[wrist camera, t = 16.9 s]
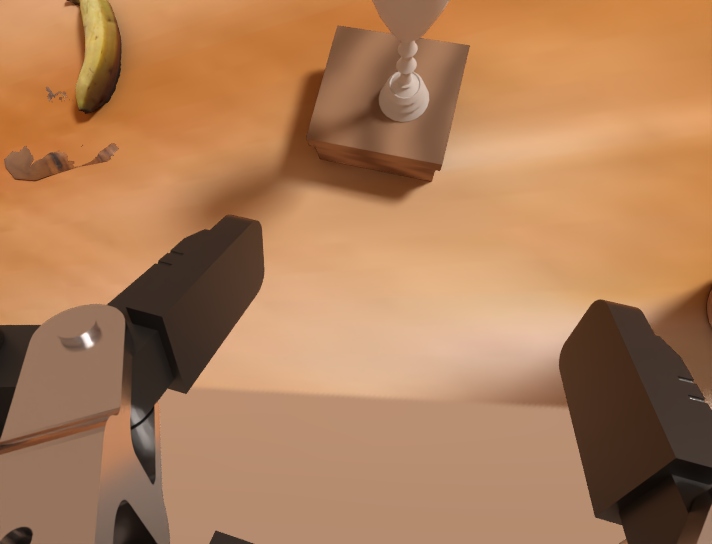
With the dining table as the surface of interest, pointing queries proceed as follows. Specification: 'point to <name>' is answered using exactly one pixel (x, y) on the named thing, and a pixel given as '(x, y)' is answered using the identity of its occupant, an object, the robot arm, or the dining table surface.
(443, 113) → the square lamp base
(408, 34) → the chalice
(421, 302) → the dining table surface
